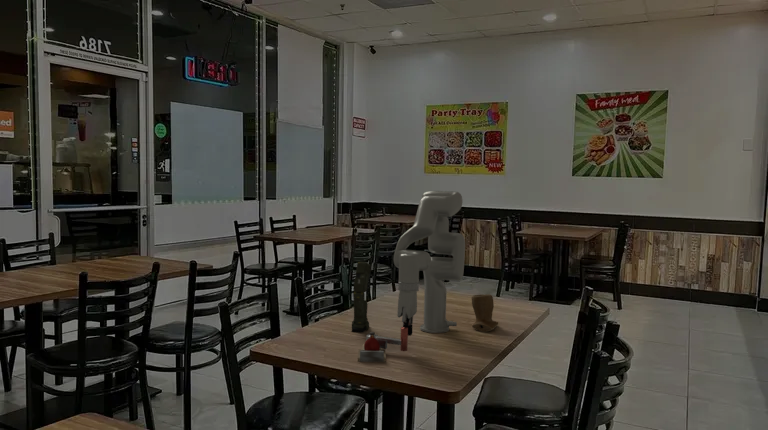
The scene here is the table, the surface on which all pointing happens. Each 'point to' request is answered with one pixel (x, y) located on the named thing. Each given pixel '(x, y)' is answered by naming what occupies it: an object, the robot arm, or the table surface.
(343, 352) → the table surface
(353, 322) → the mechanical leg
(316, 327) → the table surface
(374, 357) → the base
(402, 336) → the lever
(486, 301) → the brown boot
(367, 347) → the onion
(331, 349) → the table surface
